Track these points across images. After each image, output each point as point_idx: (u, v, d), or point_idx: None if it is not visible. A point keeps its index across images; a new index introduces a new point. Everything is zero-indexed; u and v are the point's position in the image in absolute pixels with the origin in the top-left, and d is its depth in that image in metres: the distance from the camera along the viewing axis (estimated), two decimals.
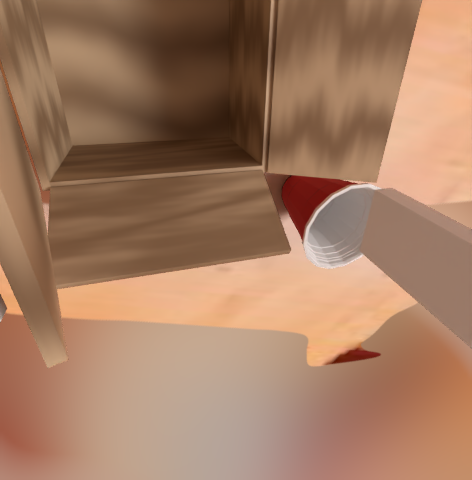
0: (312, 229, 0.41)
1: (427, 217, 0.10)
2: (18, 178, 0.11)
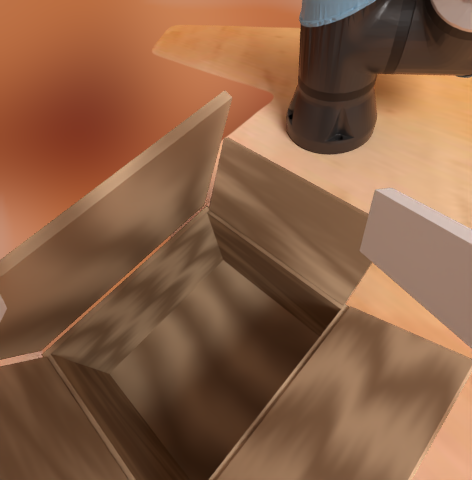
0: None
1: (427, 217, 0.10)
2: (24, 304, 0.17)
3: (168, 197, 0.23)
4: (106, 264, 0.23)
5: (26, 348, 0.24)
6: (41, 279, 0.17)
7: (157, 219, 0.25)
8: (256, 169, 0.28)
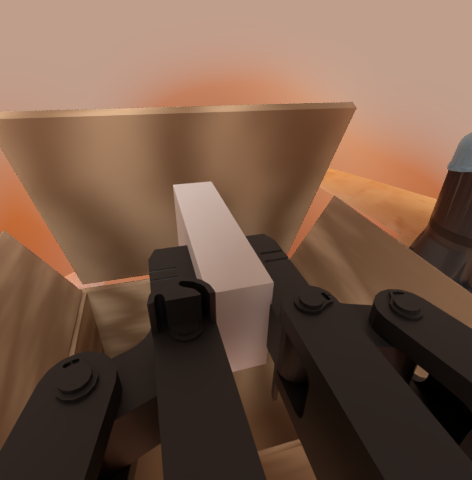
0: None
1: (209, 208, 0.10)
2: (108, 182, 0.20)
3: (261, 190, 0.24)
4: None
5: (77, 258, 0.26)
6: (133, 164, 0.19)
7: (241, 212, 0.26)
8: (352, 225, 0.27)
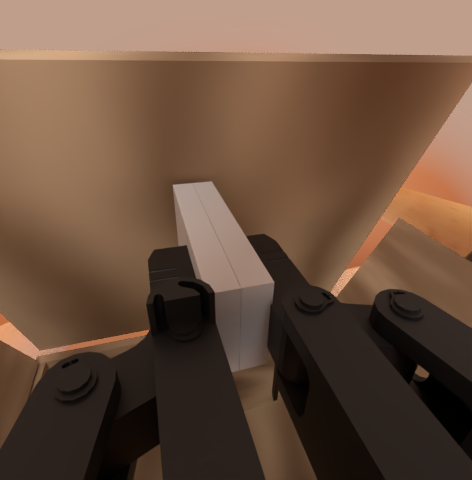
0: None
1: (209, 208, 0.10)
2: (55, 199, 0.11)
3: (307, 208, 0.15)
4: None
5: (24, 318, 0.17)
6: (96, 165, 0.11)
7: None
8: (439, 266, 0.19)
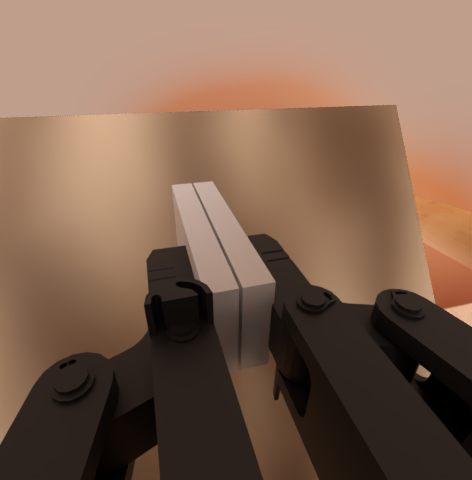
0: None
1: (210, 208, 0.10)
2: (93, 225, 0.13)
3: (334, 241, 0.15)
4: None
5: None
6: (133, 189, 0.13)
7: None
8: None
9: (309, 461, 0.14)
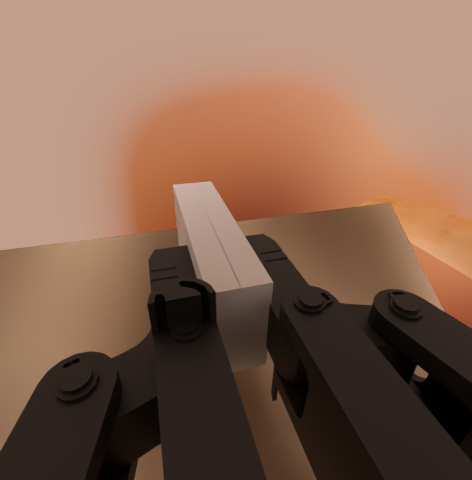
0: None
1: (208, 208, 0.10)
2: None
3: None
4: None
5: None
6: (109, 317, 0.12)
7: None
8: None
9: None
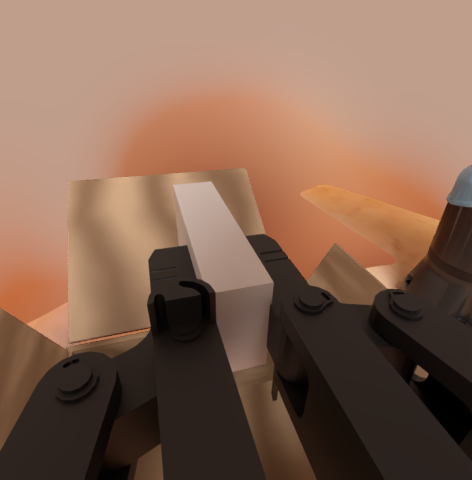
0: None
1: (209, 208, 0.10)
2: (116, 213, 0.33)
3: None
4: None
5: (76, 293, 0.29)
6: (131, 201, 0.34)
7: None
8: (355, 280, 0.26)
9: None
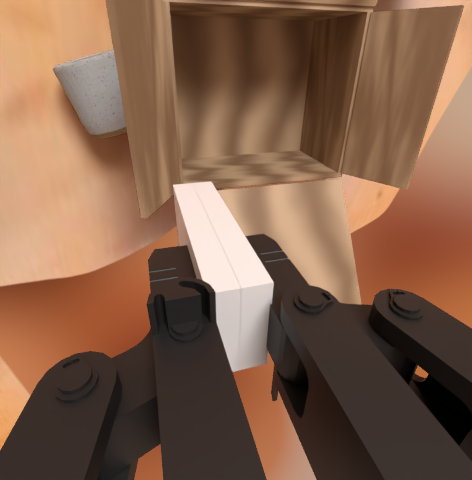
0: None
1: (208, 208, 0.10)
2: (323, 281, 0.39)
3: None
4: (284, 247, 0.38)
5: (341, 212, 0.40)
6: None
7: None
8: (146, 167, 0.27)
9: (251, 195, 0.37)
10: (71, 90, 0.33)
